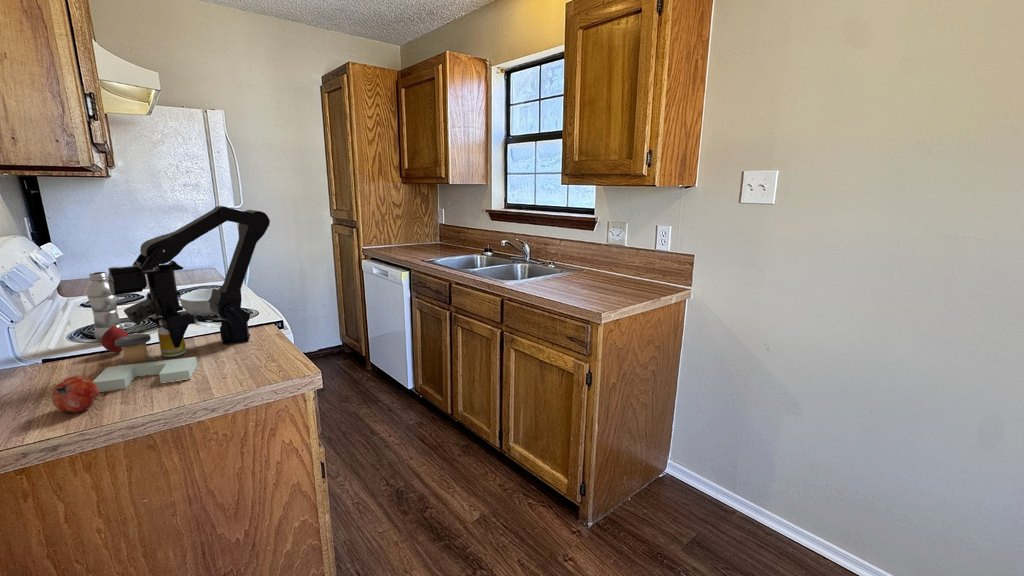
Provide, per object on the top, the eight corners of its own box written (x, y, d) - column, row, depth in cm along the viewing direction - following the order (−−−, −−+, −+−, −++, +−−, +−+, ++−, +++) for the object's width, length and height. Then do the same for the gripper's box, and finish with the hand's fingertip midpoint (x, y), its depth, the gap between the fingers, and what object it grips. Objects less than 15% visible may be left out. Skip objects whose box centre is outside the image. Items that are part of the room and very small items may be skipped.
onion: (116, 358, 122) (110, 329, 120) (98, 355, 123) (92, 327, 121) (137, 350, 128) (132, 322, 126) (120, 348, 129) (115, 320, 127)
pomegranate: (75, 411, 100) (26, 403, 91) (94, 378, 102) (49, 367, 93) (103, 419, 98) (56, 412, 89) (122, 385, 101) (78, 375, 92)
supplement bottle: (188, 353, 125) (183, 319, 123) (164, 359, 121) (158, 323, 119) (183, 348, 129) (177, 315, 126) (159, 353, 125) (153, 319, 122)
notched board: (197, 365, 118) (196, 356, 118) (190, 380, 110) (188, 370, 110) (108, 376, 111) (106, 367, 111) (94, 392, 103) (91, 382, 103)
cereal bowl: (170, 318, 155) (166, 298, 153) (209, 305, 171) (206, 286, 169) (214, 322, 152) (212, 301, 151) (250, 308, 168) (248, 289, 166)
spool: (157, 357, 123) (153, 332, 121) (150, 367, 117) (145, 341, 115) (125, 361, 120) (120, 335, 119) (115, 371, 114) (110, 345, 112)
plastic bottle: (92, 346, 130) (78, 276, 125) (100, 338, 136) (86, 271, 131) (121, 342, 133) (108, 274, 128) (127, 335, 138) (115, 270, 134)
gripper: (112, 288, 119) (123, 345, 123) (137, 301, 109) (149, 362, 113) (163, 281, 128) (172, 334, 132) (191, 292, 118) (200, 349, 121)
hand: (172, 344), depth 124 cm, fingers closed on supplement bottle, 5 cm apart
